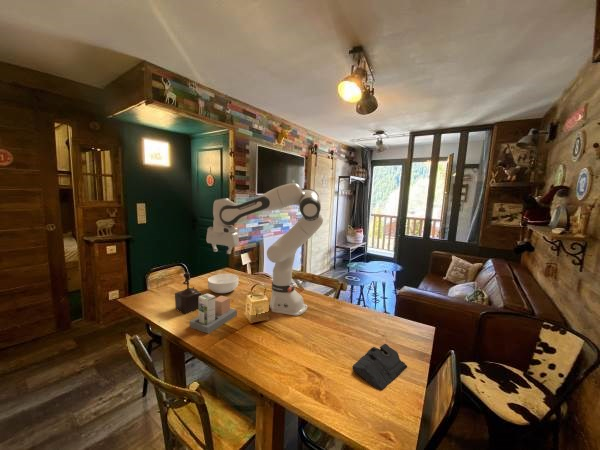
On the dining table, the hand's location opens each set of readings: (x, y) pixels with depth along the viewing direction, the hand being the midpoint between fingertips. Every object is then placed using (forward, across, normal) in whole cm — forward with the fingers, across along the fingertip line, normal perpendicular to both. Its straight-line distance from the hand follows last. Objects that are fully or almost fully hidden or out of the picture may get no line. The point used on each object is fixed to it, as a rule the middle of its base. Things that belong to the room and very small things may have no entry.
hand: (222, 252), depth 135 cm
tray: (+32, +6, -13) cm, 35 cm away
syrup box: (+32, +6, -18) cm, 37 cm away
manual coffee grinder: (+32, -19, -8) cm, 38 cm away
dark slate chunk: (+34, +86, -8) cm, 93 cm away
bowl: (+32, -18, +20) cm, 42 cm away
